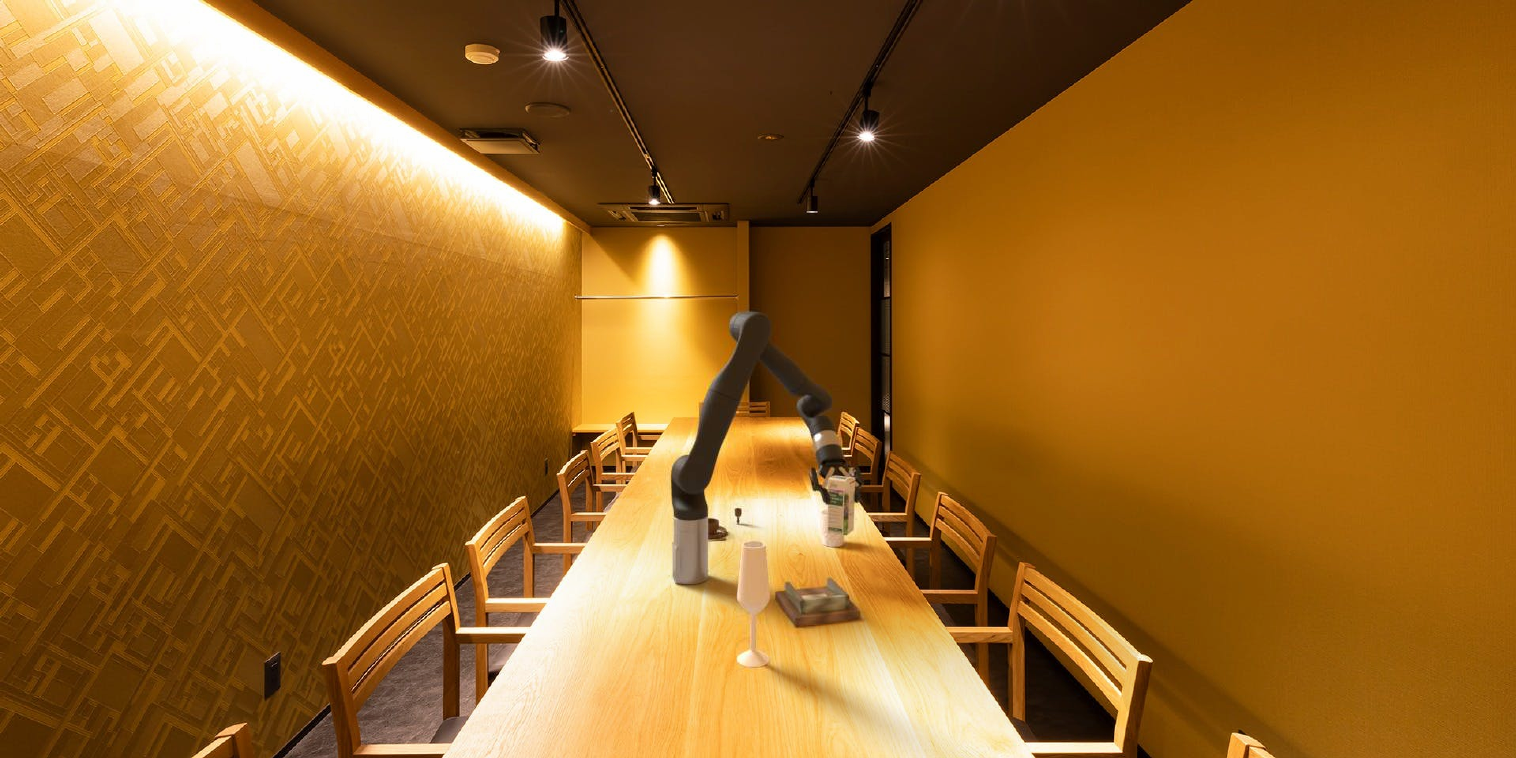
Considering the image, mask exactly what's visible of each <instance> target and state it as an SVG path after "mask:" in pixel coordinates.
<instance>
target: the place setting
mask: <svg viewBox="0 0 1516 758" xmlns="http://www.w3.org/2000/svg"><path fill="white" fill-rule="evenodd" d="M734 517H736V525H740V517H742V508H741V507H736V508H734ZM718 531H719V532H722V533H718V534H715V533H717V532H718ZM726 534H727V528H726V527H724V526H721V525H720V521H719V519H717V518H713V517H708V543H709V542H721V541H722V542H723V541H725V540H726V539H727V537H724V536H726Z"/></svg>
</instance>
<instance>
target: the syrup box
mask: <svg viewBox="0 0 1516 758" xmlns="http://www.w3.org/2000/svg"><path fill="white" fill-rule="evenodd" d="M827 489H828V493H829V496H830V503H829V505H827V510H828V517H827V533H835V534H840V535H845V536H848V535H850V534H851V533H852V532H853V531H854V529H855V504H856V503H855V477H854V476H852V477H844V476H832V477H830V478H829V479H828V484H827Z"/></svg>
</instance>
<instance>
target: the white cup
mask: <svg viewBox="0 0 1516 758" xmlns="http://www.w3.org/2000/svg"><path fill="white" fill-rule="evenodd" d="M827 517H828V509H824V510H822V511H820V523H821V524H820V527H821V543H822V545H823V546H826V547H830V548H839V547H842V546H844V543H845V536H846V535H840V534H835V533H827Z"/></svg>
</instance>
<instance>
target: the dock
mask: <svg viewBox="0 0 1516 758" xmlns="http://www.w3.org/2000/svg"><path fill="white" fill-rule="evenodd" d="M784 586H785V587H784V590H777V591H776V590H775V592H774V599H775V601H776V603H777V602H778V603H777V604H778V605H779V606H780V608H781V610H782V611H783V612H784V614H785V613H786V614H785V615H786V616H787V618H788V619H789V621H790V622H791V623H792V624H793V626H794V628H795V627H804V626H805V627H806V626H813V625H821V624H822V625H823V624H831V623H839V622H846V621H856V620H861V612H862V611H861V610H860V609H859V608H858V607H857V606H856V604H854V603H853V601H851V600H850V595H849V594H848V593H847V591H845V590H844V589H843V588H842V587H841V586H840V585H839V584H838V583H837V582H836V581H835V580H834V579H833V578H832V577H827V578H826V586H817V587H808V588H807V587H806V588H795V587H794V586H793V584H792V583H791V582H790V581H784Z"/></svg>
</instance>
